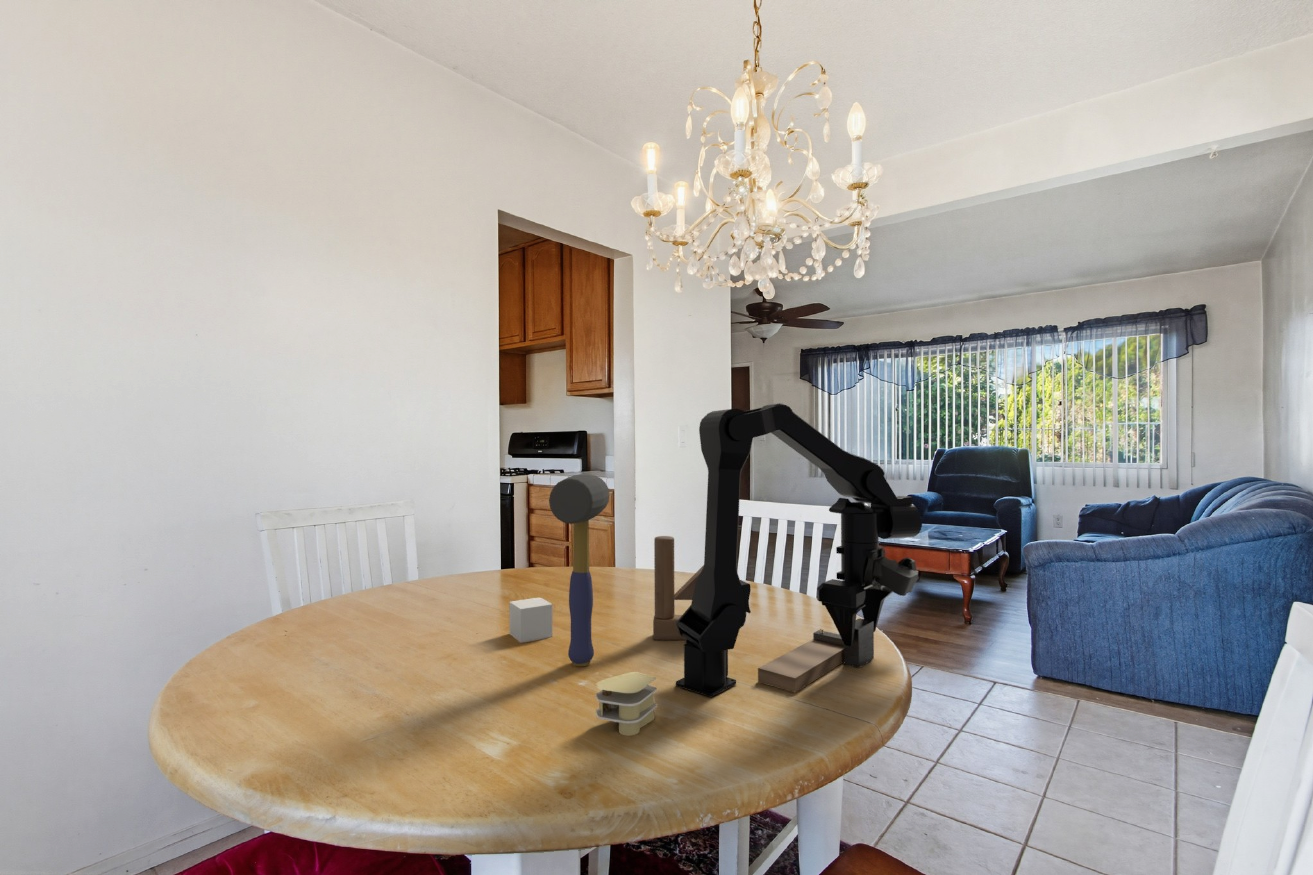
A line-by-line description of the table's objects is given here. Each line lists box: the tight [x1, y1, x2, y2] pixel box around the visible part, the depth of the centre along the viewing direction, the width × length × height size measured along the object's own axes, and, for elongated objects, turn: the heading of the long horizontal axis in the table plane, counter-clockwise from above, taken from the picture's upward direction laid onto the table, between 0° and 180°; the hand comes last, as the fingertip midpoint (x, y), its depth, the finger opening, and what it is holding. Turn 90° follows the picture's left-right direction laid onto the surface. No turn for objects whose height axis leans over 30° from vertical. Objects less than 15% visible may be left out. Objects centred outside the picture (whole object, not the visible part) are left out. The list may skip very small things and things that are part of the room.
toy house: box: [595, 670, 658, 736], centre depth 76 cm, size 10×9×6 cm
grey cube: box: [508, 597, 554, 644], centre depth 111 cm, size 6×6×6 cm
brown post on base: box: [652, 535, 704, 641], centre depth 110 cm, size 4×11×18 cm, turn 88°
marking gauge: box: [812, 617, 875, 669], centre depth 99 cm, size 6×9×6 cm
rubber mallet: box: [548, 473, 611, 667], centre depth 96 cm, size 12×8×30 cm, turn 171°
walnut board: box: [757, 638, 844, 693], centre depth 95 cm, size 22×6×2 cm, turn 139°
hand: (860, 638), depth 97 cm, fingers open, 9 cm apart
